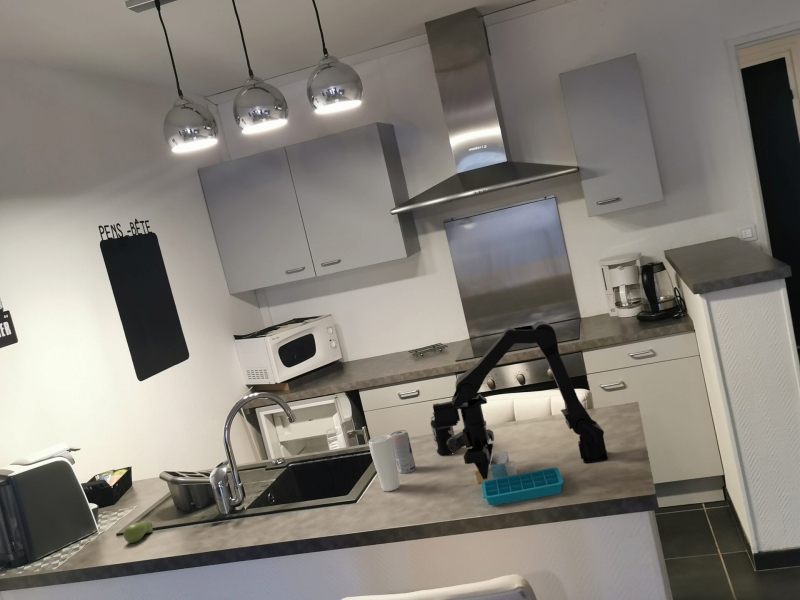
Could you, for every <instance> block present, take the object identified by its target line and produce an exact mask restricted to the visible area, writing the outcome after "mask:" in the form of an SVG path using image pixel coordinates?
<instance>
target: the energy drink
mask: <svg viewBox="0 0 800 600" xmlns="http://www.w3.org/2000/svg"><path fill="white" fill-rule="evenodd" d="M390 436H391V439H392V442H393V446H394V451H395V458H396V465H397V471H398V473H400V474H402V475H403V474H409V473H412V472H414V471H415V470H416V464H415V463H416V461H415V457H414V455H413V454H414V452H413V451H412V450H413V449H412V446H411V441H410V437H409V433H408V431H407V430H405V429H401V430H396V431H394V432H392V433H391V434H390Z"/></svg>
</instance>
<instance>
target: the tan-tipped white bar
mask: <svg viewBox="0 0 800 600" xmlns="http://www.w3.org/2000/svg"><path fill="white" fill-rule="evenodd" d="M490 464H491V463H490ZM490 464H489V469H488V476H487V479H483V478H482V476H481V474H480V472H479V470H478V468H477V467H476V466H475V470H474V473H475V478H476V481H477V484H481V483H482V482H483V481H486V480H490V479H493V476H492V471H491V467H490ZM506 465H507V470H508V474H509V476H511V475H516V474H518V472H517V467H516V463H515V460H510V461H507V462H506Z"/></svg>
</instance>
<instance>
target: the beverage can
mask: <svg viewBox="0 0 800 600" xmlns="http://www.w3.org/2000/svg"><path fill="white" fill-rule="evenodd" d="M434 417H435V416H434V415H433V416H431V417H430V420H431V421H430V426H431V431H432V435H433V436H432V437H433V440H434V445H435V449H436V453H437V454H438V455H439V456H441V455H442V457H444V456H443V455H447V456H450V455H449V454H451V455H453V454H452V452H451V450H448V446H447V444H446V443H447V441H448V439H449V438H451V437H452V436H454V435H455V431H454V426H451V427H446V428H441V429H437V428H436V424H435V420H434Z"/></svg>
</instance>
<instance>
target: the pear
mask: <svg viewBox="0 0 800 600" xmlns="http://www.w3.org/2000/svg"><path fill="white" fill-rule="evenodd" d="M151 533H154V529H153V523H152V522H151V521H147V520H142V521H140V522H134V523H132V524H129V525H128V526H126V527H125V529H124V531H123V538H124V541H126V542H127V543H130V544H134V543H137V542H139V541H140V540H141V539H142V538H143V537H144V536H145V534H151Z"/></svg>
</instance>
